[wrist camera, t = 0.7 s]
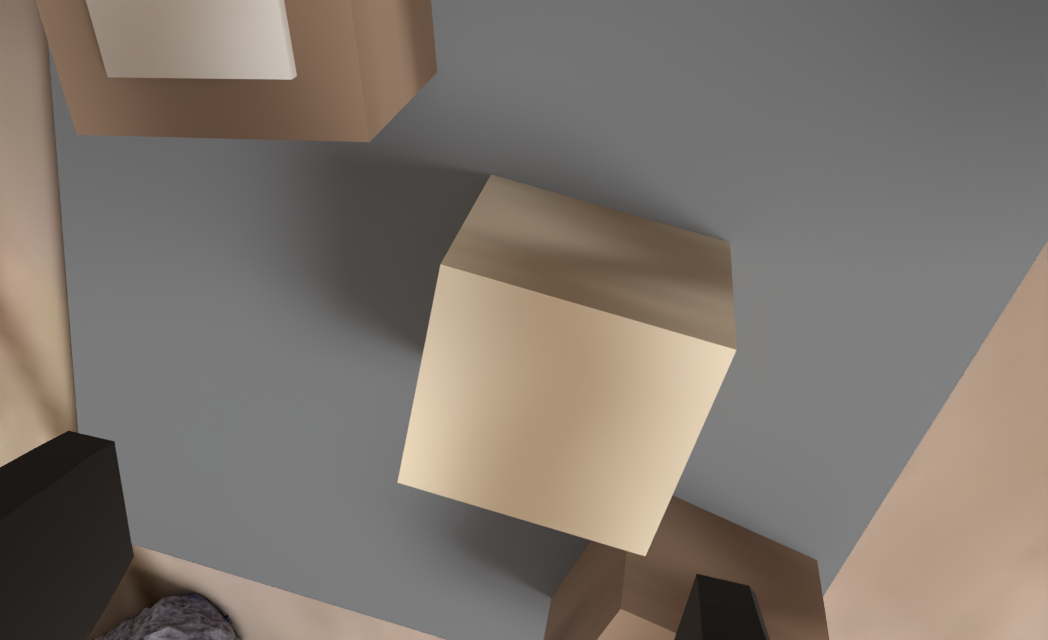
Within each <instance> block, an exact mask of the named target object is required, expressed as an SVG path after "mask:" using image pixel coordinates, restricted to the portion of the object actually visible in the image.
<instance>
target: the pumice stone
mask: <svg viewBox="0 0 1048 640" xmlns="http://www.w3.org/2000/svg"><path fill="white" fill-rule="evenodd" d="M94 640H241V639H239V638H238V637H236V636H235V633H234V631H233V628H232V625H231V620H230V618H229V617H228V616H227V618H226V617H224V616H223V615H222V614H221V613H220V612H219V610H218V609H216V608H215V607H214V606H213V605H212V604H211V603H210V602H209V601H207V600H206V599H204V598H203V597H201V596H200V595H198V594H189V595H185V596H169V597H164V598H162V599H161V600H159V601H158V602H157V603H156V604H155V605H153V606H152V608H144V609H143V611H142V612H141V613H140V614H138V615H137V616H134V617H133V618H129V619H125V620H124V621H123V622H122V623H121V624H120V625H119V626H118V627H116V628H114V629H112V630H110V631H109V632H108V633H106V634H104V635H102V636H100V637H97V638H95V639H94Z"/></svg>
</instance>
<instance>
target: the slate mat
mask: <svg viewBox="0 0 1048 640" xmlns="http://www.w3.org/2000/svg"><path fill="white" fill-rule="evenodd" d="M431 6H432V17H433V29H434V40H435V52H436V63H437V73H436V74H435V75H434V76H433V77H432V78H431V79H430V80H429V81H428V82H427V83H426V84H425V85H424V87H423V88H422V89H421V90H420V91H419V92H418V93H417V94H416V95H415V96H414V97H413V98H412V99H411V100H410V101H409V102H408V103H407V104H406V105H405V106H404V107H403V108H402V109H401V110H400V111H399V112H398V113H397V114H396V115H395V116H394V117H393V119H392V120H391V121H390V122H389V123H388V124H387V125H386V126H385V127H384V128H383V129H382V130H381V131H380V132H379V133H378V134H377V135H376V136H375V137H374V138H373V139H372V140H371V141H370V142H342V141H302V140H262V139H222V138H182V137H142V136H103V135H77V134H76V131H75V128H74V125H73V121H72V118H71V115H70V112H69V108H68V105H67V102H66V99H65V96H64V92H63V89H62V86H61V83H60V79H59V76H58V73H57V70H56V67H55V63H54V60H53V57H52V54H51V51H50V47H49V44H48V50H49V62H50V75H51V88H52V101H53V114H54V127H55V140H56V153H57V166H58V179H59V191H60V204H61V217H62V230H63V243H64V256H65V269H66V282H67V295H68V308H69V321H70V333H71V346H72V359H73V372H74V385H75V398H76V411H77V424H78V433H80V434H85V435H89V436H93V437H98V438H102V439H107V440H111V441H115V447H116V453H117V459H118V465H119V471H120V477H121V483H122V489H123V495H124V501H125V507H126V513H127V519H128V525H129V531H130V537H131V543H132V544H134V545H137V546H140V547H144V548H147V549H150V550H154V551H157V552H160V553H163V554H167V555H170V556H173V557H177V558H180V559H183V560H186V561H190V562H193V563H196V564H200V565H203V566H206V567H210V568H213V569H216V570H219V571H223V572H226V573H229V574H233V575H236V576H239V577H243V578H246V579H249V580H252V581H256V582H259V583H262V584H266V585H269V586H272V587H276V588H279V589H282V590H285V591H289V592H292V593H295V594H299V595H302V596H305V597H309V598H312V599H315V600H318V601H322V602H325V603H328V604H332V605H335V606H338V607H342V608H345V609H348V610H351V611H355V612H358V613H361V614H365V615H368V616H371V617H375V618H378V619H381V620H384V621H388V622H391V623H394V624H398V625H401V626H404V627H407V628H411V629H414V630H417V631H421V632H424V633H427V634H431V635H434V636H437V637H440V638H444V639H447V640H544V634H545V629H546V624H547V618H548V613H549V608H550V603H551V598H552V597H553V595H554V594H555V592H556V591H557V589H558V588H559V586H560V585H561V583H562V582H563V581H564V579H565V578H566V576H567V575H568V573H569V572H570V570H571V569H572V567H573V566H574V565H575V563H576V562H577V560H578V559H579V557H580V556H581V554H582V553H583V551H584V550H585V549H586V547H587V546H588V544H589V543H590V541H591V540H589V539H585V538H582V537H578V536H575V535H572V534H568V533H565V532H562V531H558V530H555V529H552V528H548V527H545V526H542V525H538V524H535V523H531V522H528V521H525V520H521V519H518V518H515V517H511V516H508V515H505V514H501V513H498V512H495V511H491V510H488V509H484V508H481V507H478V506H474V505H471V504H468V503H464V502H461V501H458V500H454V499H451V498H448V497H444V496H441V495H437V494H434V493H431V492H427V491H424V490H421V489H417V488H414V487H411V486H407V485H404V484H401V483H397V482H398V477H399V472H400V467H401V462H402V457H403V452H404V447H405V442H406V437H407V431H408V426H409V421H410V416H411V411H412V406H413V401H414V396H415V391H416V386H417V381H418V376H419V371H420V366H421V361H422V355H423V350H424V345H425V340H426V335H427V330H428V325H429V320H430V315H431V310H432V305H433V300H434V295H435V290H436V285H437V279H438V274H439V269H440V264H441V262H442V261H443V259H444V257H445V255H446V254H447V252H448V250H449V248H450V246H451V245H452V243H453V241H454V239H455V238H456V236H457V234H458V232H459V231H460V229H461V227H462V225H463V223H464V222H465V220H466V218H467V216H468V215H469V213H470V211H471V209H472V207H473V206H474V204H475V202H476V200H477V199H478V197H479V195H480V193H481V191H482V190H483V188H484V186H485V184H486V183H487V181H488V179H489V177H490V175H491V174H492V175H495V176H499V177H502V178H506V179H509V180H513V181H516V182H520V183H523V184H527V185H530V186H534V187H537V188H541V189H544V190H548V191H551V192H555V193H558V194H562V195H565V196H569V197H572V198H576V199H579V200H583V201H586V202H590V203H593V204H597V205H600V206H604V207H607V208H611V209H614V210H618V211H621V212H625V213H628V214H632V215H635V216H639V217H642V218H646V219H649V220H653V221H656V222H660V223H663V224H667V225H670V226H674V227H677V228H681V229H684V230H688V231H691V232H695V233H698V234H702V235H705V236H709V237H712V238H716V239H719V240H723V241H726V242H730V249H731V265H732V282H733V298H734V315H735V332H736V348H737V350H736V352H735V355H734V357H733V359H732V361H731V364H730V366H729V368H728V371H727V373H726V375H725V377H724V380H723V382H722V384H721V386H720V389H719V391H718V393H717V395H716V398H715V400H714V402H713V404H712V407H711V409H710V411H709V414H708V416H707V418H706V420H705V423H704V425H703V427H702V429H701V432H700V434H699V436H698V438H697V441H696V443H695V445H694V447H693V450H692V452H691V454H690V457H689V459H688V461H687V463H686V466H685V468H684V470H683V472H682V475H681V477H680V479H679V481H678V484H677V486H676V488H675V490H674V493H673V496H675V497H677V498H680V499H682V500H684V501H686V502H689V503H691V504H693V505H695V506H697V507H700V508H702V509H704V510H706V511H709V512H711V513H713V514H715V515H717V516H720V517H722V518H724V519H726V520H729V521H731V522H733V523H735V524H737V525H740V526H742V527H744V528H746V529H749V530H751V531H753V532H755V533H757V534H760V535H762V536H764V537H766V538H769V539H771V540H773V541H775V542H777V543H780V544H782V545H784V546H786V547H789V548H791V549H793V550H795V551H798V552H800V553H802V554H804V555H806V556H809V557H811V558H813V559H815V560H817V562H818V568H819V575H820V582H821V588H822V595H823V596H824V594H825V592H826V591H827V589H828V588H829V586H830V585H831V583H832V581H833V580H834V578H835V577H836V575H837V573H838V572H839V570H840V569H841V567H842V565H843V564H844V562H845V561H846V559H847V558H848V556H849V554H850V553H851V551H852V550H853V548H854V546H855V545H856V543H857V542H858V540H859V539H860V537H861V535H862V534H863V532H864V531H865V529H866V527H867V526H868V524H869V523H870V521H871V520H872V518H873V516H874V515H875V513H876V512H877V510H878V508H879V507H880V505H881V504H882V502H883V500H884V499H885V497H886V496H887V494H888V493H889V491H890V489H891V488H892V486H893V485H894V483H895V481H896V480H897V478H898V477H899V475H900V474H901V472H902V470H903V469H904V467H905V466H906V464H907V462H908V461H909V459H910V458H911V456H912V455H913V453H914V451H915V450H916V448H917V447H918V445H919V443H920V442H921V440H922V439H923V437H924V435H925V434H926V432H927V431H928V429H929V428H930V426H931V424H932V423H933V421H934V420H935V418H936V416H937V415H938V413H939V412H940V410H941V409H942V407H943V405H944V404H945V402H946V401H947V399H948V397H949V396H950V394H951V393H952V391H953V390H954V388H955V386H956V385H957V383H958V382H959V380H960V378H961V377H962V375H963V374H964V372H965V370H966V369H967V367H968V366H969V364H970V363H971V361H972V359H973V358H974V356H975V355H976V353H977V351H978V350H979V348H980V347H981V345H982V344H983V342H984V340H985V339H986V337H987V336H988V334H989V332H990V331H991V329H992V328H993V326H994V325H995V323H996V321H997V320H998V318H999V317H1000V315H1001V313H1002V312H1003V310H1004V309H1005V307H1006V305H1007V304H1008V302H1009V301H1010V299H1011V298H1012V296H1013V294H1014V293H1015V291H1016V290H1017V288H1018V286H1019V285H1020V283H1021V282H1022V280H1023V279H1024V277H1025V275H1026V274H1027V272H1028V271H1029V269H1030V267H1031V266H1032V264H1033V263H1034V261H1035V260H1036V258H1037V256H1038V255H1039V253H1040V252H1041V250H1042V248H1043V247H1044V245H1045V244H1046V242H1047V240H1048V0H431Z"/></svg>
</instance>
